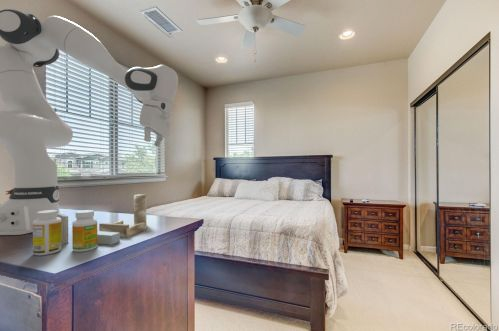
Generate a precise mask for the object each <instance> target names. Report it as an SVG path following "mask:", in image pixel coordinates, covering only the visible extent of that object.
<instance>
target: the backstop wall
mask: <svg viewBox="0 0 499 331" xmlns="http://www.w3.org/2000/svg"><path fill="white" fill-rule="evenodd" d="M120 238H121V237H120V233H118V232H104V231H99V230H97V245H98V244H99V245H111V246H112V245H115V244H116V243H119V242H120V241H121V239H120Z"/></svg>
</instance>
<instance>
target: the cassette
mask: <svg viewBox="0 0 499 331" xmlns="http://www.w3.org/2000/svg"><path fill="white" fill-rule="evenodd" d="M57 214H58V215H57V217H59V218H61V226H62V244H64V245H67V244H69V216H68V215H66V214H62V213H61V212H60V213H57Z"/></svg>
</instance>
